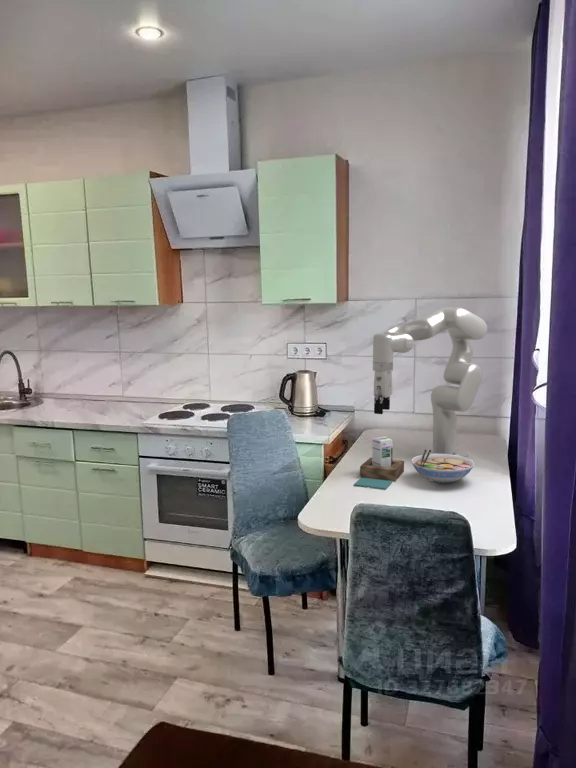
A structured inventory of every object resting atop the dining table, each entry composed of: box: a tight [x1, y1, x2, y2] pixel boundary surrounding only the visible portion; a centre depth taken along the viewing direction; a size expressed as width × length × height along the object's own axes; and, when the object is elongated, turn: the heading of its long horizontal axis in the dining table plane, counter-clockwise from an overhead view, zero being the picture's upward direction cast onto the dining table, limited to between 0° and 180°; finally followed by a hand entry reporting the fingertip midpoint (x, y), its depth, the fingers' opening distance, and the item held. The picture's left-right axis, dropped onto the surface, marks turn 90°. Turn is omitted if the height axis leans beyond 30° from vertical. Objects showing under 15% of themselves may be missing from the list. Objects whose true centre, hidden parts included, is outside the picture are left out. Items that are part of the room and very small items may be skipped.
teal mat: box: [353, 477, 393, 491], centre depth 220 cm, size 12×9×1 cm
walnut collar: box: [359, 456, 405, 483], centre depth 231 cm, size 14×14×4 cm
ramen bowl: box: [411, 449, 475, 484], centre depth 223 cm, size 25×23×8 cm
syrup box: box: [371, 436, 394, 468], centre depth 230 cm, size 6×6×14 cm
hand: (382, 411), depth 228 cm, fingers open, 9 cm apart
